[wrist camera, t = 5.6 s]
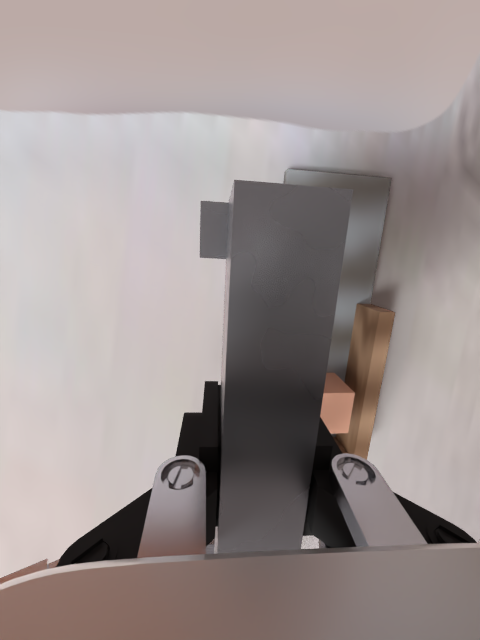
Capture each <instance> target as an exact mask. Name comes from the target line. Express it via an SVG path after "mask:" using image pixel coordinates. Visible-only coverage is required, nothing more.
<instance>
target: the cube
mask: <svg viewBox="0 0 480 640" xmlns="http://www.w3.org/2000/svg"><path fill="white" fill-rule="evenodd" d="M354 396H355V392H354V391H353V390H351V389H350V388H349V387H348V386H347V385H346V384H345V383H344V382H343V381H342V380H341V379H340V378H339V377H338V376H337V375H336V374H335V373H326V380H325V386H324V393H323V400H322V407H321V414H320V417H321V419H322V420H323V422H324V424H325V425H326V427H327V428H328V430H329V432H330V433H331V434H337V433H348V431H349V425H350V419H351V413H352V407H353V401H354Z"/></svg>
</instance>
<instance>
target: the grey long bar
mask: <svg viewBox="0 0 480 640" xmlns="http://www.w3.org/2000/svg"><path fill="white" fill-rule="evenodd" d="M352 195H353V189H341V188H329V187H316V186H304V185H291V184H279V183H267V182H254V181H242V180H234V183H233V187H232V191H231V195H230V199H229V203H224V202H210V201H201V221H200V258H218V259H226V275H225V299H224V323H223V347H222V371H221V396H220V415H221V463H220V485H219V508H218V527H216V529H215V540H214V544H209V545H207V547H206V554H218V553H237V552H256V551H277V550H299V549H301V543H302V536H303V530H304V523H305V516H306V509H307V502H308V496H309V489H310V482H311V475H312V468H313V461H314V455H315V448H316V441H317V434H318V427H319V421H320V414H321V407H322V400H323V393H324V386H325V380H326V373H327V366H328V359H329V352H330V346H331V339H332V332H333V325H334V318H335V311H336V305H337V298H338V291H339V284H340V277H341V270H342V264H343V257H344V250H345V243H346V236H347V230H348V223H349V216H350V209H351V202H352Z"/></svg>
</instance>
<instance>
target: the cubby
mask: <svg viewBox="0 0 480 640" xmlns="http://www.w3.org/2000/svg"><path fill="white" fill-rule="evenodd" d="M391 179H392V178H385V177H374V176H363V175H351V174H340V173H328V172H317V171H306V170H294V169H287V170H286V171H285V175H284V184H291V185H304V186H316V187H329V188H341V189H353V195H352V202H351V209H350V216H349V223H348V230H347V236H346V243H345V250H344V257H343V264H342V270H341V277H340V284H339V291H338V298H337V305H336V311H335V318H334V325H333V332H332V339H331V346H330V352H329V359H328V366H327V373H335V374H336V375H337V376H338V377H339V378H340V379H341V380H342V381H343V382H344V383H345V384H346V385H347V386H348V387H349V388H350V389H351V390H353V391H354V392H355V396H354V401H353V407H352V413H351V419H350V425H349V431H348V433H337V434H331V435H332V437H333V438H334V440H335V442H336V443H337V445H338V446H339V448H340V450H341V451H342V453H343V454H344V453H348V454H354V455H357V456H360V457H362V458H364V459H366V460H367V456H368V451H369V446H370V440H371V435H372V430H373V425H374V420H375V415H376V409H377V404H378V399H379V394H380V389H381V384H382V378H383V373H384V368H385V363H386V358H387V353H388V347H389V342H390V337H391V332H392V327H393V321H394V316H395V312H393V311H390V310H387V309H384V308H381V307H378V306H375V305H372V304H370V303H371V297H372V291H373V285H374V279H375V273H376V267H377V261H378V256H379V250H380V244H381V238H382V232H383V226H384V220H385V214H386V208H387V202H388V196H389V191H390V185H391Z"/></svg>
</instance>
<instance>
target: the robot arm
mask: <svg viewBox="0 0 480 640" xmlns="http://www.w3.org/2000/svg"><path fill="white" fill-rule="evenodd" d="M220 396H221V385H218V381H205V388H204V399H203V410H202V413H184V417H183V422H182V427H181V432H180V437H179V442H178V447H177V452H176V456H175V457H173V458H170V459H168V460H167V461H165V462H164V463H162V464H161V466H160V467H159V468H158V470H157V472H156V475H155V479H154V484H153V488H151V489H150V490H149V491H147V492H146V493H144V494H143V495H141V496H140V497H139V498H137V499H136V500H134V501H133V502H131V503H130V504H128V505H127V506H126V507H124V508H123V509H121V510H120V511H118V512H117V513H115V514H114V515H113V516H111V517H110V518H108V519H107V520H105V521H104V522H102V523H101V524H100V525H98V526H97V527H95V528H94V529H92V530H91V531H90V532H88V533H87V534H85V535H84V536H82V537H81V538H79V539H78V540H77V541H76V542H75V543H73V544H72V545H71V546H70V547H69V548H68V549H67V550H66V551H65V553H64V554H63V555H62V556H61V558H60V559H59V560H56V561H54V562H52V563H49V564H48V559H45V560H43V561H40V562H38V563H36V564H33V565H31V566H28V567H26V568H24V569H21V570H19V571H16V572H14V573H11V574H9V575H7V576H4V577H2V578H0V640H480V539H479V542H478V543H477V542H476V541H475V540H474V539H473V538H472V537H471V536H469V535H468V534H467V533H466V532H465V531H463V530H462V529H460V528H459V527H457V526H455V525H454V524H452V523H450V522H448V521H446V520H444V519H443V518H441V517H439V516H437V515H435V514H433V513H431V512H429V511H428V510H426V509H424V508H422V507H420V506H418V505H416V504H415V503H413V502H411V501H409V500H407V499H405V498H403V497H401V496H400V495H398V494H396V493H394V492H392V490H391V489H390V487H389V486H388V484H387V483H386V481H385V480H384V478H383V477H382V475H381V474H380V472H379V471H378V470H377V468H376V467H375V466H374V465H373V464H372V463H370V462H369V461H368V460H366V459H364V458H362V457H360V456H357V455H354V454H348V453H344V454H343V453H342V451H341V450H340V448H339V446H338V445H337V443H336V442H335V440H334V438H333V437H332V435H331V433H330V432H329V430H328V428H327V427H326V425H325V424H324V422H323V420H322V419H321V417H320V421H319V427H318V434H317V441H316V448H315V455H314V461H313V468H312V475H311V482H310V489H309V496H308V502H307V509H306V516H305V523H304V530H303V536H307V535H314V536H315V537H317V538H318V539H319V542H318V543H319V549H299V550H277V551H256V552H237V553H218V554H206V547H207V545H208V544H209V543H210V542H211V541H212V540H213V539H214V538H215V529H216V527H218V508H219V485H220V463H221V415H220Z"/></svg>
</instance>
